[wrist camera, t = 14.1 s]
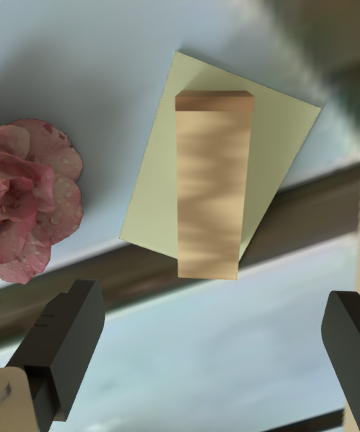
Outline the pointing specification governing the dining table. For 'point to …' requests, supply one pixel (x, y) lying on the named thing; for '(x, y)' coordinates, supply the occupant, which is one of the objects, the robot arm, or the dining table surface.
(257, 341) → the dining table surface
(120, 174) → the dining table surface
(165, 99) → the felt mat
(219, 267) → the beech block
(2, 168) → the flower
